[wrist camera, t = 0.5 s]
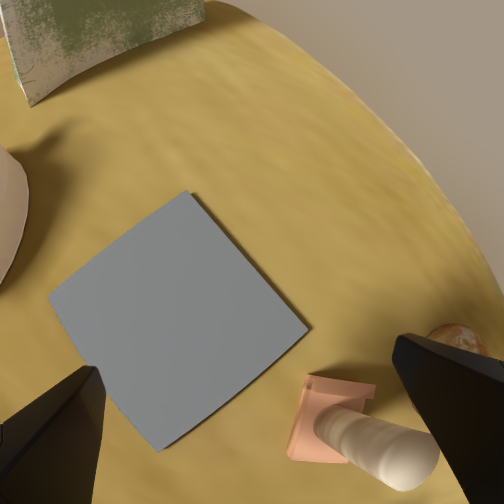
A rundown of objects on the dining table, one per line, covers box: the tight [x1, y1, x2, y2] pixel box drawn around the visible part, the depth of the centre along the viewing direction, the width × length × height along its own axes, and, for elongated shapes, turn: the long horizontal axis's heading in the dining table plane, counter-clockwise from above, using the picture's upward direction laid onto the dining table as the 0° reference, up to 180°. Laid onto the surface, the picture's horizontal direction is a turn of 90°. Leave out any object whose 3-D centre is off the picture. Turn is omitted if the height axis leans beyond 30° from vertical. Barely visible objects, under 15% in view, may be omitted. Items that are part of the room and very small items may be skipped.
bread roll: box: [412, 324, 491, 415], centre depth 22 cm, size 10×10×8 cm
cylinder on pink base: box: [286, 374, 440, 491], centre depth 16 cm, size 7×5×13 cm
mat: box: [47, 190, 308, 453], centre depth 23 cm, size 16×16×1 cm
